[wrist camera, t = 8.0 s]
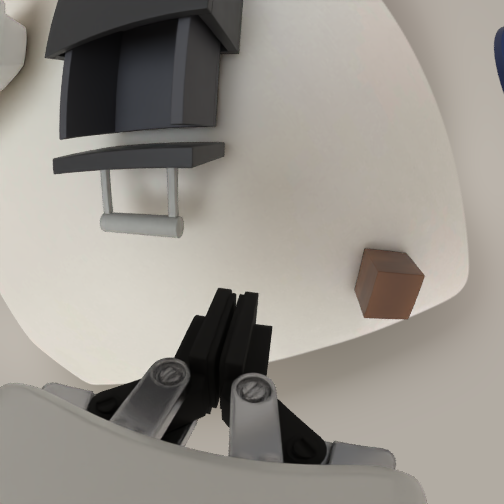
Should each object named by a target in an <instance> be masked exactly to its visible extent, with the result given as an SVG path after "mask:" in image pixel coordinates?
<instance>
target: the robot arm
mask: <svg viewBox="0 0 504 504" xmlns="http://www.w3.org/2000/svg"><path fill="white" fill-rule="evenodd" d="M257 305H258V293H253V292H245V294H244V295H242V294H240V295H239V298H238V302H237V305H236V294H235V293H232V290H231V289H224V288H218V290H217V292H216V294H215V296H214V299H213V301H212V303H211V305H210V307H209V310H208V312H207V314H206V316H199V315H196V316H195V317H194V318H193V320H192V322H191V324H190V326H189V328H188V330H187V332H186V334H185V336H184V339H183V341H182V343H181V345H180V347H179V349H178V351H177V353H176V355H175V357H174V358H164V359H160V360H158V361H156V362H155V363H154V364H153V365H152V366H151V367H150V368H149V370H148V371H147V372H146V374H145V375H144V376H143V377H142V379H139V380H136V381H133V382H130V383H127V384H124V385H121V386H118V387H115V388H112V389H109V390H106V391H102V392H100V393H98V394H94V393H93V391H89V390H84V389H80V388H75V387H71V386H67V385H62V384H58V383H48V384H46V385H45V386H43V387H42V389H41V388H38V387H35V386H31V385H27V384H20V383H9V384H5V385H3V386H1V387H0V504H427V500H426V496H425V493H424V490H423V488H422V486H421V484H420V483H419V481H418V480H417V479H416V478H415V477H413V476H411V475H409V474H407V473H405V472H402V471H399V470H395V467H396V462H395V461H396V460H395V457H394V455H393V454H392V453H391V452H390V451H389V450H386V449H383V448H376V447H368V446H361V445H355V444H348V443H343V442H338V441H334V442H333V443H331V442H326V441H324V440H323V439H322V438H321V437H320V436H319V435H317V434H316V433H315V432H314V431H313V430H311V429H310V428H309V427H308V426H307V425H306V424H305V423H304V422H302V421H301V420H300V419H299V418H298V417H297V416H296V415H294V413H292V412H291V411H290V410H289V409H288V408H287V407H286V406H285V405H284V404H283V403H282V402H281V401H279V400H278V399H277V392H276V387H275V384H274V383H273V381H272V380H271V379H270V378H268V377H267V376H266V375H267V367H268V360H269V351H270V343H271V335H272V326H266V325H258V324H256V315H257ZM219 398H220V409H222V420H223V421H224V422H225V423H226V425H227V426H228V427H229V428H230V429H229V430H230V431H229V456H223V455H218V454H213V453H208V452H204V451H199V450H195V449H190V448H187V447H185V445H186V443H187V441H188V439H189V437H190V435H191V434H192V432H193V430H194V428H195V426H196V424H197V421H198V419H199V418H201V417H203V416H205V414H206V413H207V414H210V412H211V409H212V407H213V408H217V405H218V402H219Z"/></svg>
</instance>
